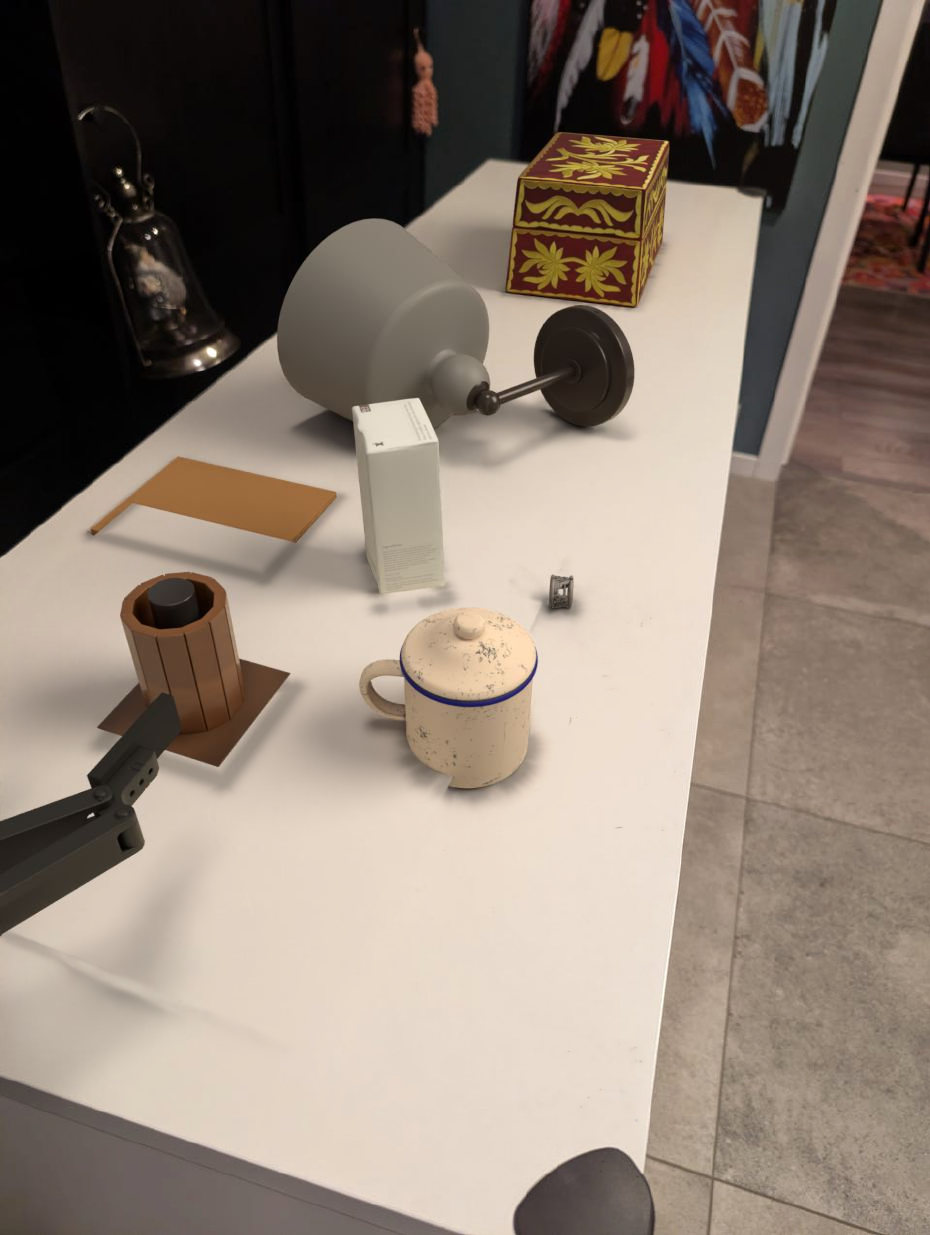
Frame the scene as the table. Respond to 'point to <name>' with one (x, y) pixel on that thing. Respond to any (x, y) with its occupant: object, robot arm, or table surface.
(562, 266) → the decorative box
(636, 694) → the table surface
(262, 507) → the wooden board
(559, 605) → the decorative ring
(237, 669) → the brown wooden cylinder
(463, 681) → the teacup with lid
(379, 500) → the cosmetic box
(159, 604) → the ring holder
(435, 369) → the light fixture
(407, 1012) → the table surface
